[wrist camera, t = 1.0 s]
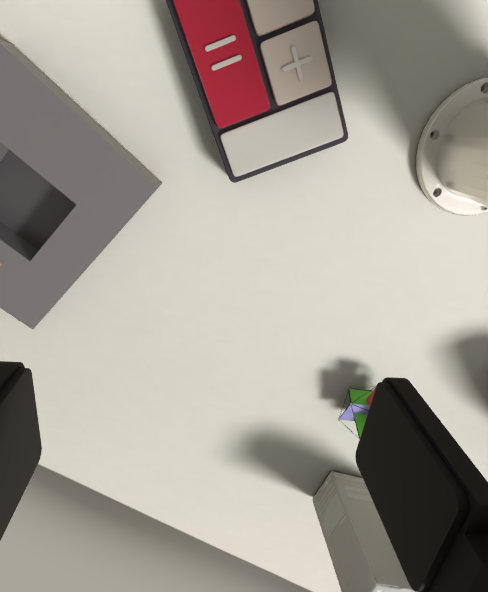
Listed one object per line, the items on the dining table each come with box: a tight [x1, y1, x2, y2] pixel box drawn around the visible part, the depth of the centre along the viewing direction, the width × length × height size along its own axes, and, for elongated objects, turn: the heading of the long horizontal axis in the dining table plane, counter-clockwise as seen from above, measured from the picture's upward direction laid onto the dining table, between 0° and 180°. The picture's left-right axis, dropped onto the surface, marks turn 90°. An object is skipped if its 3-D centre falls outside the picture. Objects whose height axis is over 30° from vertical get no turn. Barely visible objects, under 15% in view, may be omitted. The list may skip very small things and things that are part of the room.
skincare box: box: [313, 471, 415, 592], centre depth 50 cm, size 8×7×16 cm
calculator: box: [166, 0, 348, 183], centre depth 33 cm, size 11×4×15 cm
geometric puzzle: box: [338, 386, 376, 440], centre depth 48 cm, size 7×7×8 cm
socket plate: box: [0, 40, 162, 329], centre depth 36 cm, size 20×16×4 cm
